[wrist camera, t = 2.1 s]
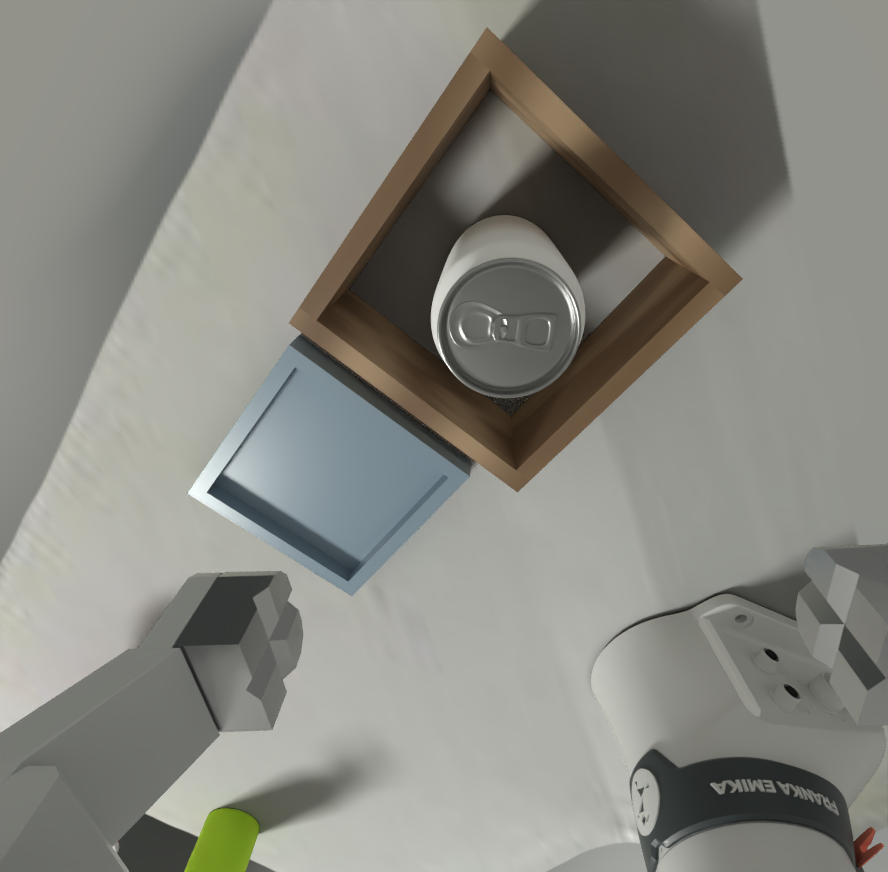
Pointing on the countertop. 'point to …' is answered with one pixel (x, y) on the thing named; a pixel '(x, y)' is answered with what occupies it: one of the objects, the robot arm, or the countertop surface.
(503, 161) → the countertop surface
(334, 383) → the tray
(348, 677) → the countertop surface
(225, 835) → the soap dispenser
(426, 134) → the walnut sleeve
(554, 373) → the can
